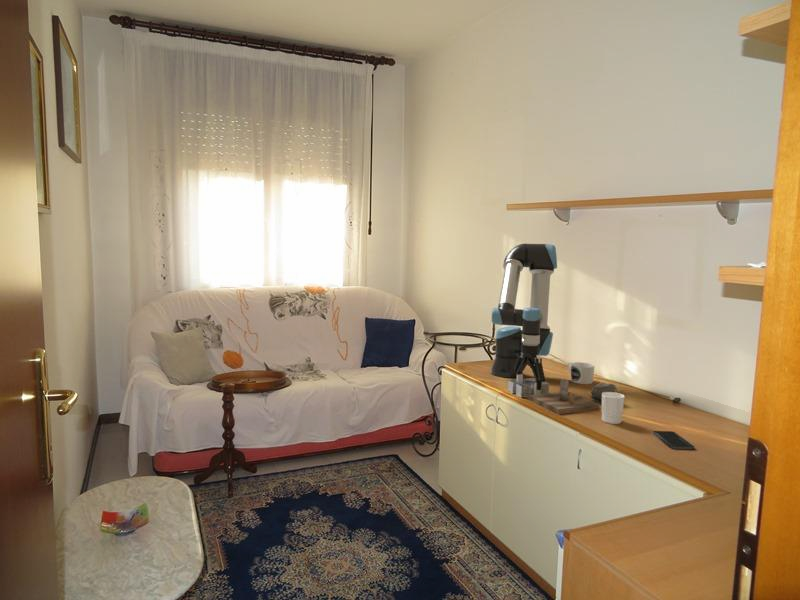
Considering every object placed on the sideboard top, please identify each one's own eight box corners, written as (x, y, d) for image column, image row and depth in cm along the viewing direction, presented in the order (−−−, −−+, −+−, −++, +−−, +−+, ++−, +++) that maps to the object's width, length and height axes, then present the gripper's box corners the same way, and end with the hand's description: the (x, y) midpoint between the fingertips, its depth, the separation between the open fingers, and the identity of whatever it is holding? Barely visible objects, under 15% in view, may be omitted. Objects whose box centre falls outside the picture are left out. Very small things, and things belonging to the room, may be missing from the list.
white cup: (596, 420, 206) (597, 394, 205) (607, 416, 211) (608, 390, 210) (615, 426, 200) (617, 399, 199) (626, 421, 205) (628, 395, 204)
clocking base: (528, 400, 230) (529, 376, 228) (567, 395, 237) (569, 373, 236) (558, 414, 212) (559, 388, 211) (599, 409, 220) (600, 384, 219)
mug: (597, 382, 261) (599, 365, 260) (585, 385, 254) (586, 368, 253) (573, 376, 271) (574, 360, 270) (560, 379, 265) (561, 362, 264)
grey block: (534, 388, 247) (535, 377, 247) (548, 394, 238) (549, 383, 238) (507, 391, 242) (508, 380, 241) (521, 397, 233) (521, 386, 232)
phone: (671, 447, 179) (651, 430, 194) (671, 450, 179) (651, 433, 194) (696, 447, 179) (674, 431, 194) (696, 451, 179) (674, 434, 194)
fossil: (588, 402, 227) (590, 378, 230) (591, 407, 234) (593, 384, 237) (616, 405, 222) (618, 381, 225) (618, 410, 229) (620, 387, 232)
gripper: (507, 339, 247) (504, 386, 250) (540, 350, 225) (538, 401, 227) (521, 338, 250) (518, 384, 253) (555, 349, 228) (553, 399, 230)
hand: (527, 392), depth 240 cm, fingers open, 12 cm apart
